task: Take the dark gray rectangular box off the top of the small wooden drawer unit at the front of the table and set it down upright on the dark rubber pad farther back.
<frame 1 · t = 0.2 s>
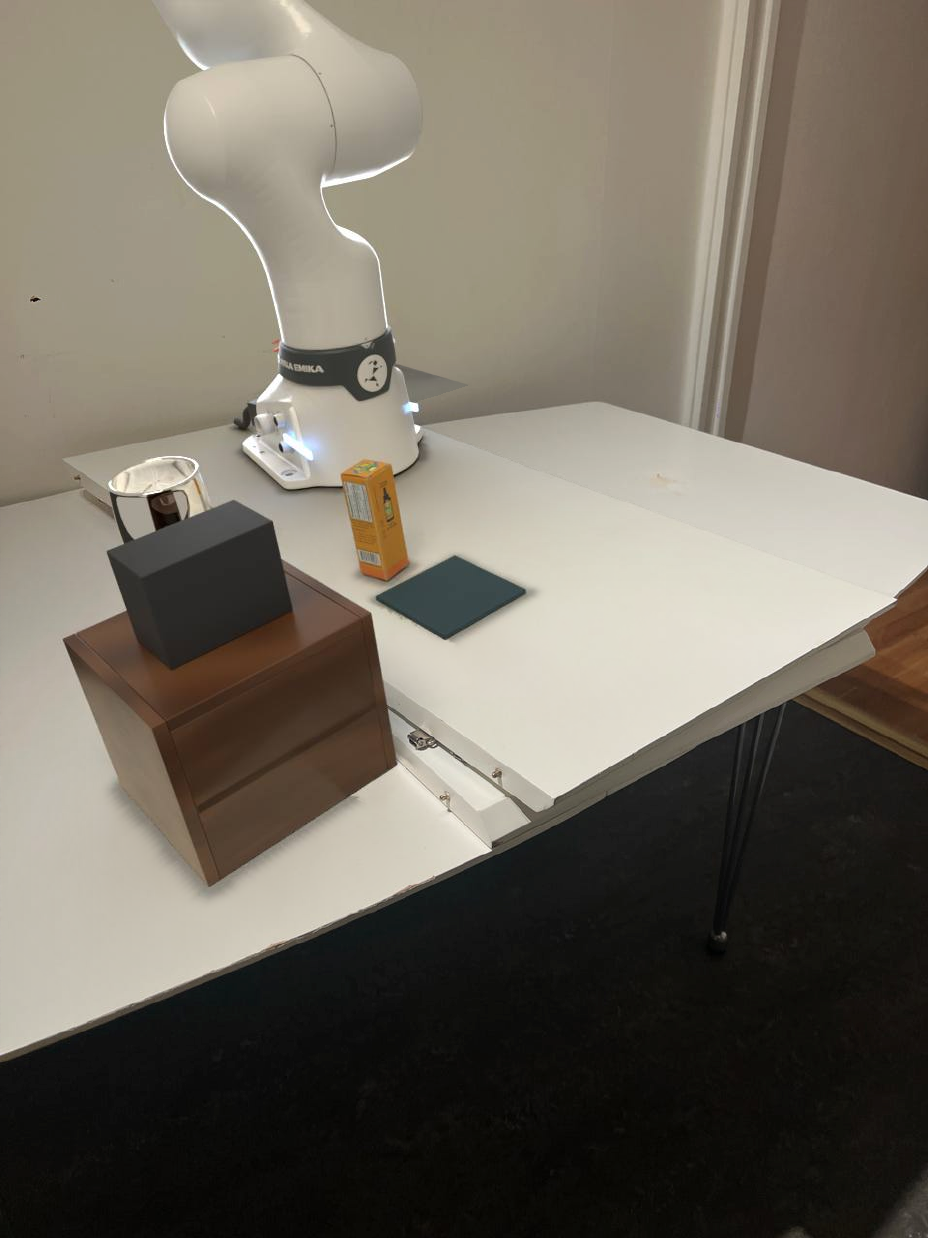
wooden drawer unit: (259, 775, 60), on the table
dark gray rectangular box: (216, 625, 53), point 12 cm above the table, touching wooden drawer unit
silver metal tumbler: (204, 646, 74), on the table
supplement box: (383, 571, 81), on the table
pad: (450, 596, 77), on the table
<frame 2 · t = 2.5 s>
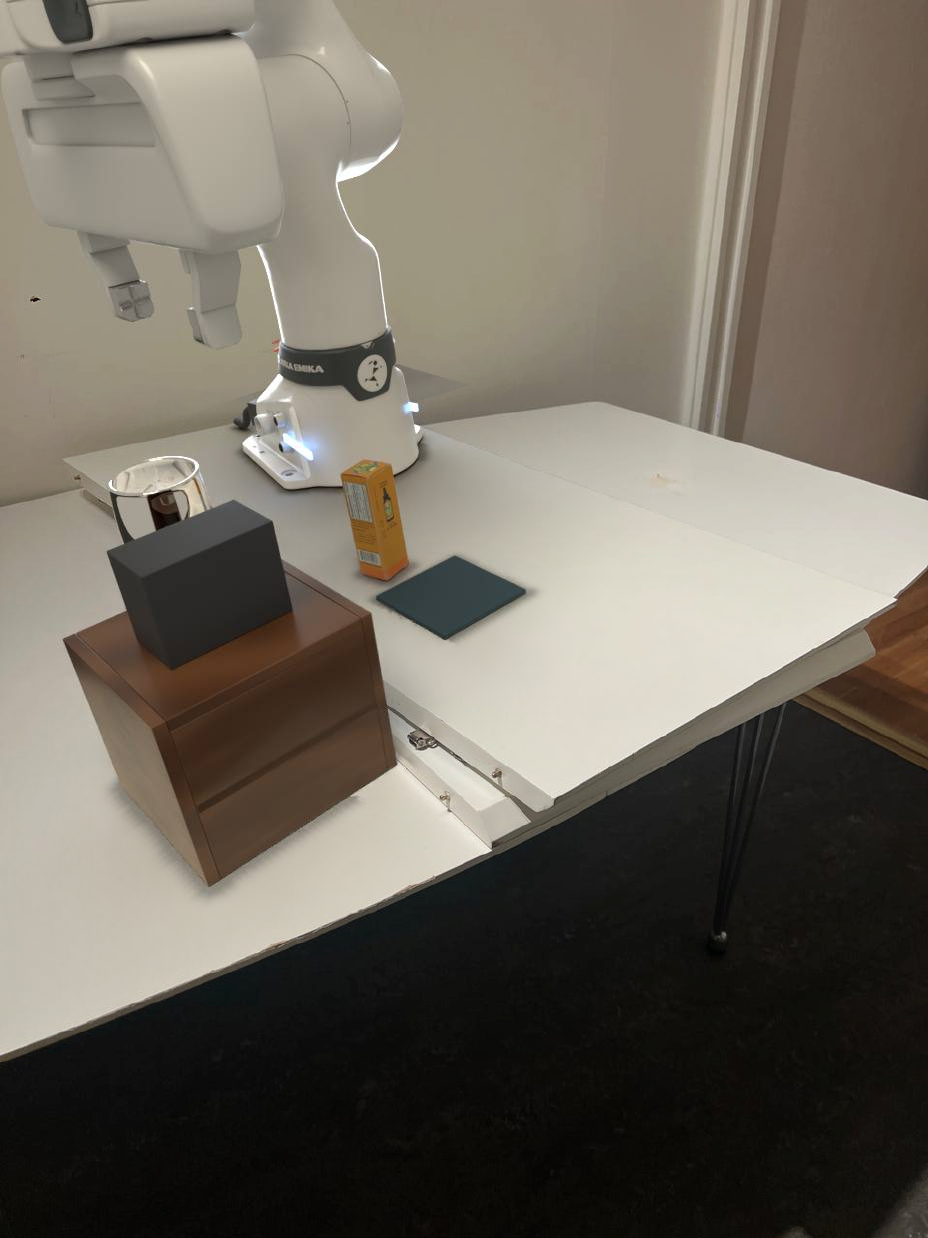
hand: (174, 330, 46), 29 cm above the table, tool pointing down, fingers open, 8 cm apart
nothing on the table moved.
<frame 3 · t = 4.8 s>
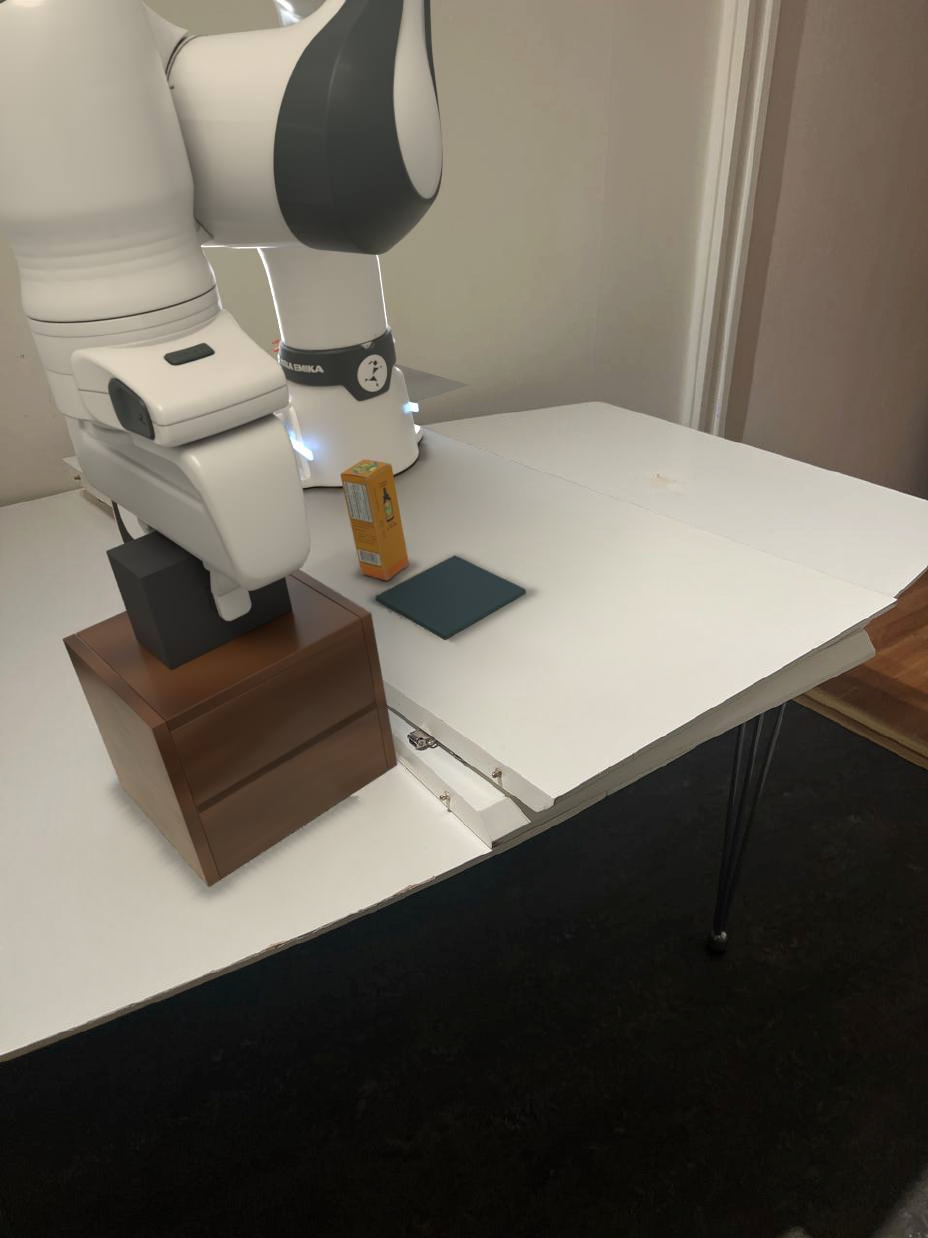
hand: (208, 594, 52), 14 cm above the table, tool pointing down, fingers closed on dark gray rectangular box, 4 cm apart
dark gray rectangular box: (215, 625, 53), point 12 cm above the table, touching gripper, wooden drawer unit
everything else where it was.
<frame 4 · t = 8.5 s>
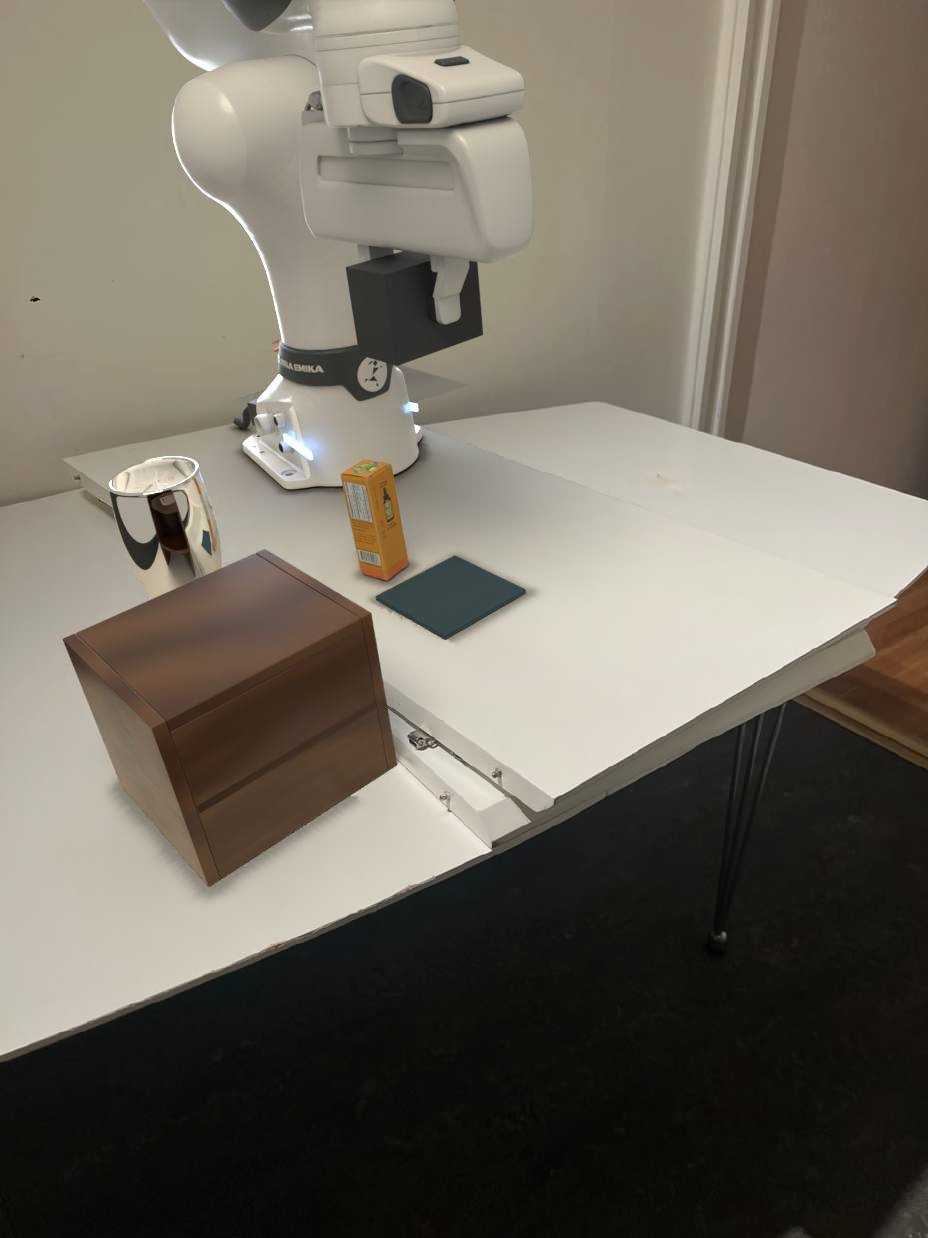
hand: (418, 315, 64), 23 cm above the table, tool pointing down, fingers closed on dark gray rectangular box, 4 cm apart
dark gray rectangular box: (421, 345, 65), point 21 cm above the table, touching gripper
everything else where it was.
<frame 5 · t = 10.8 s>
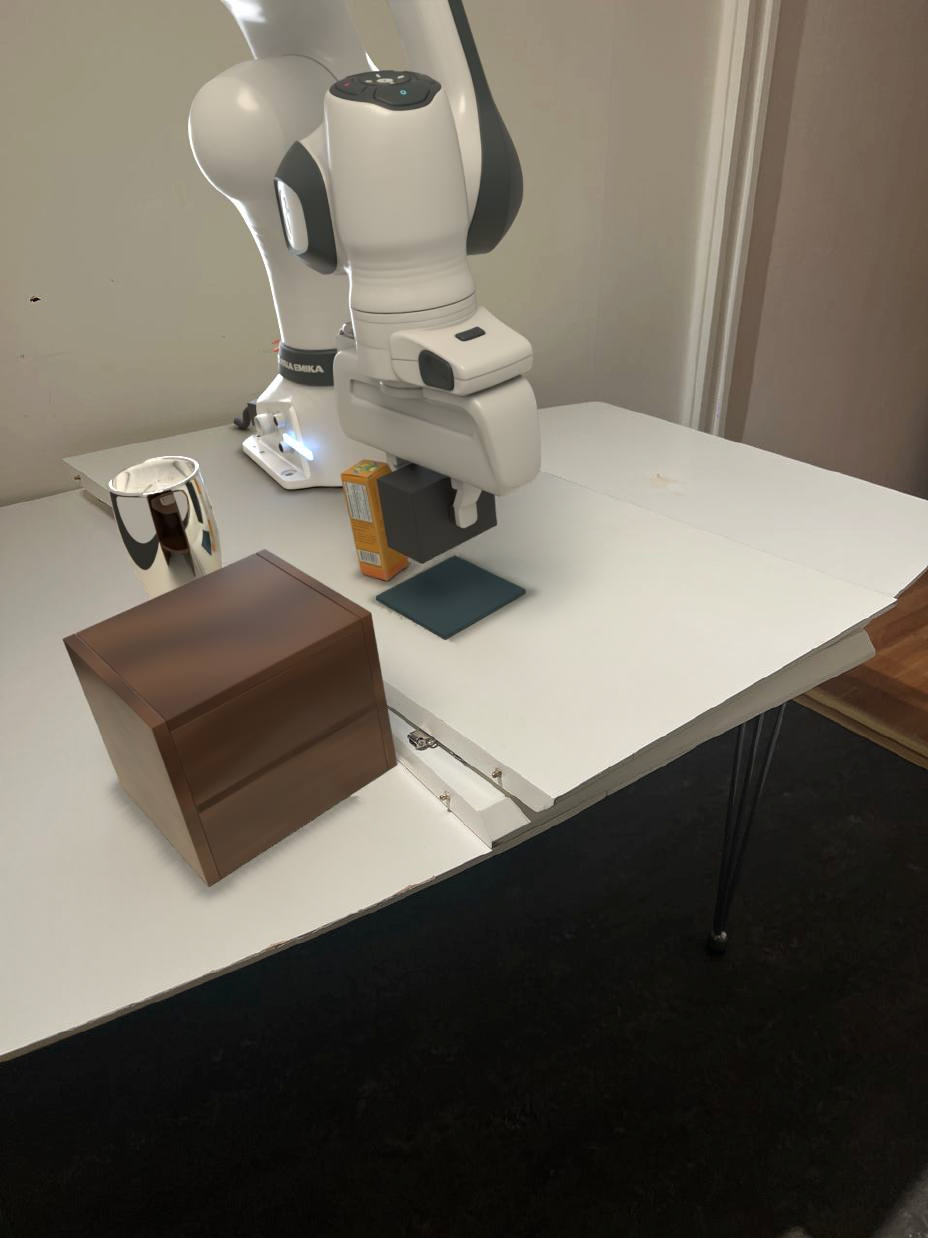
hand: (439, 512, 72), 8 cm above the table, tool pointing down, fingers closed on dark gray rectangular box, 4 cm apart
dark gray rectangular box: (443, 536, 73), point 6 cm above the table, touching gripper
everything else where it was.
when the fingers open (2 cm above the table, at t = 12.6 s): dark gray rectangular box stays where it is, resting on pad.
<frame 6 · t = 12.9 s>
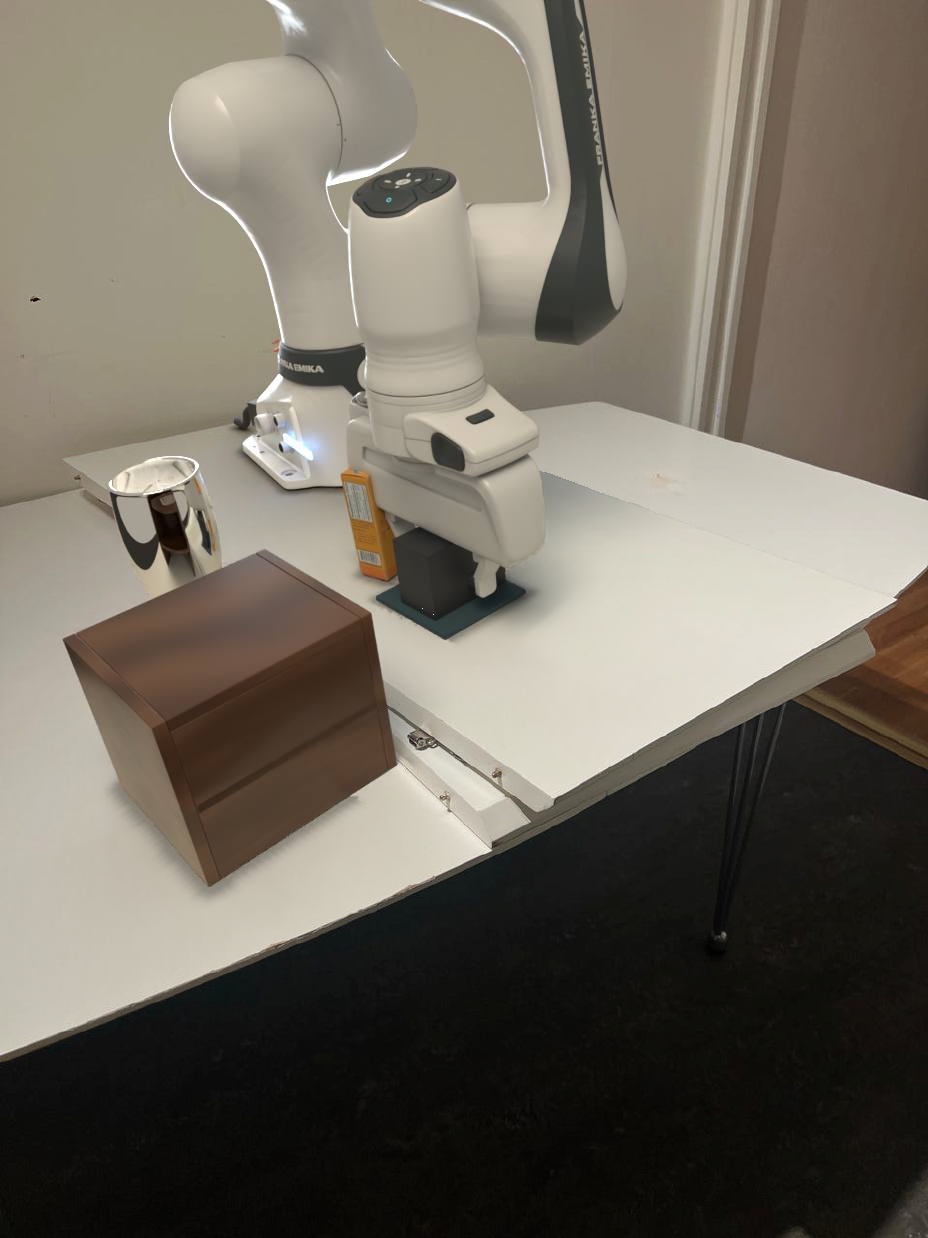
hand: (446, 573, 75), 2 cm above the table, tool pointing down, fingers open, 7 cm apart
dark gray rectangular box: (454, 591, 76), resting on pad
supplement box: (383, 571, 81), on the table, touching gripper
everything else where it was.
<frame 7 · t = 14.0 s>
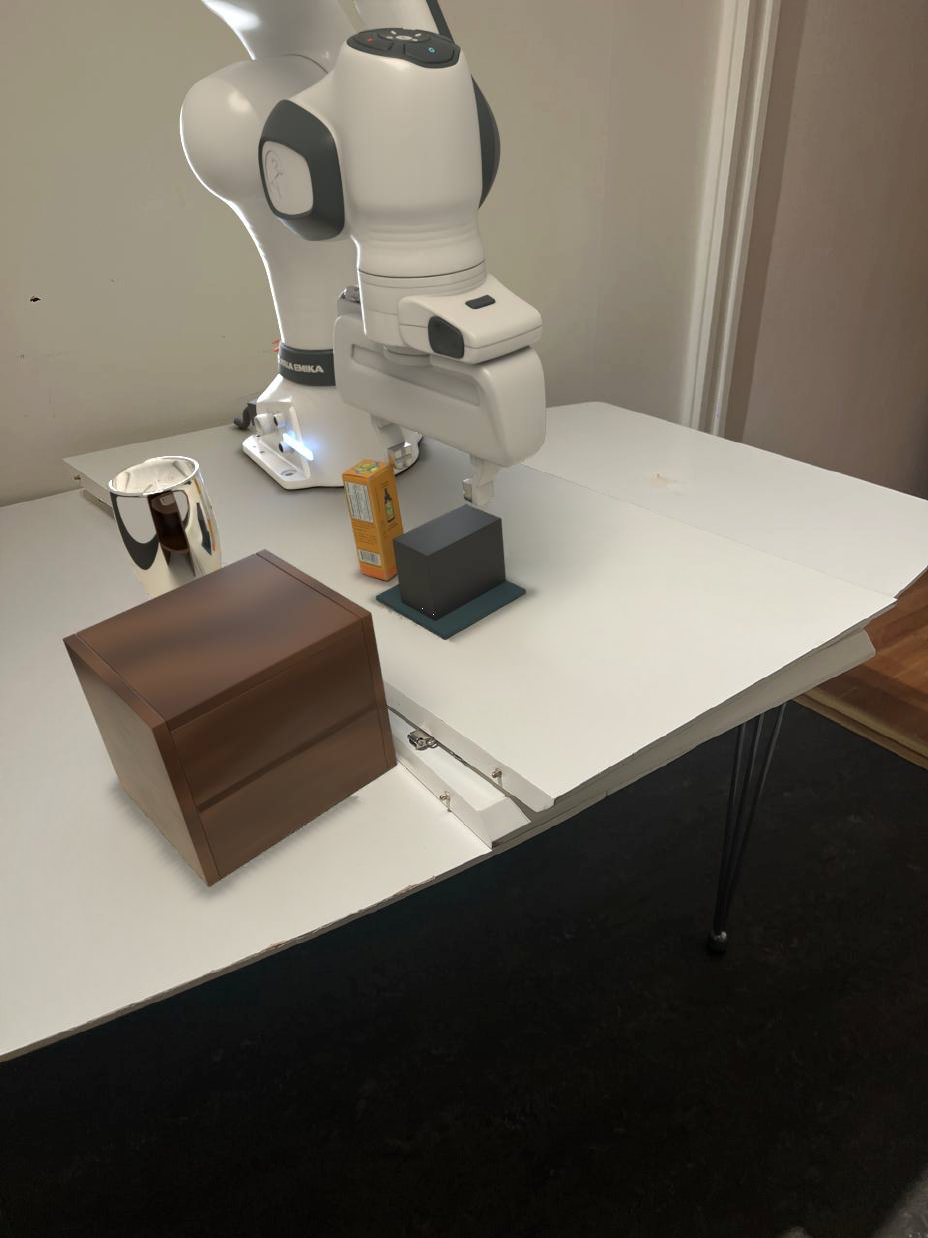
hand: (437, 482, 72), 10 cm above the table, tool pointing down, fingers open, 8 cm apart
supplement box: (383, 571, 81), on the table
everything else where it was.
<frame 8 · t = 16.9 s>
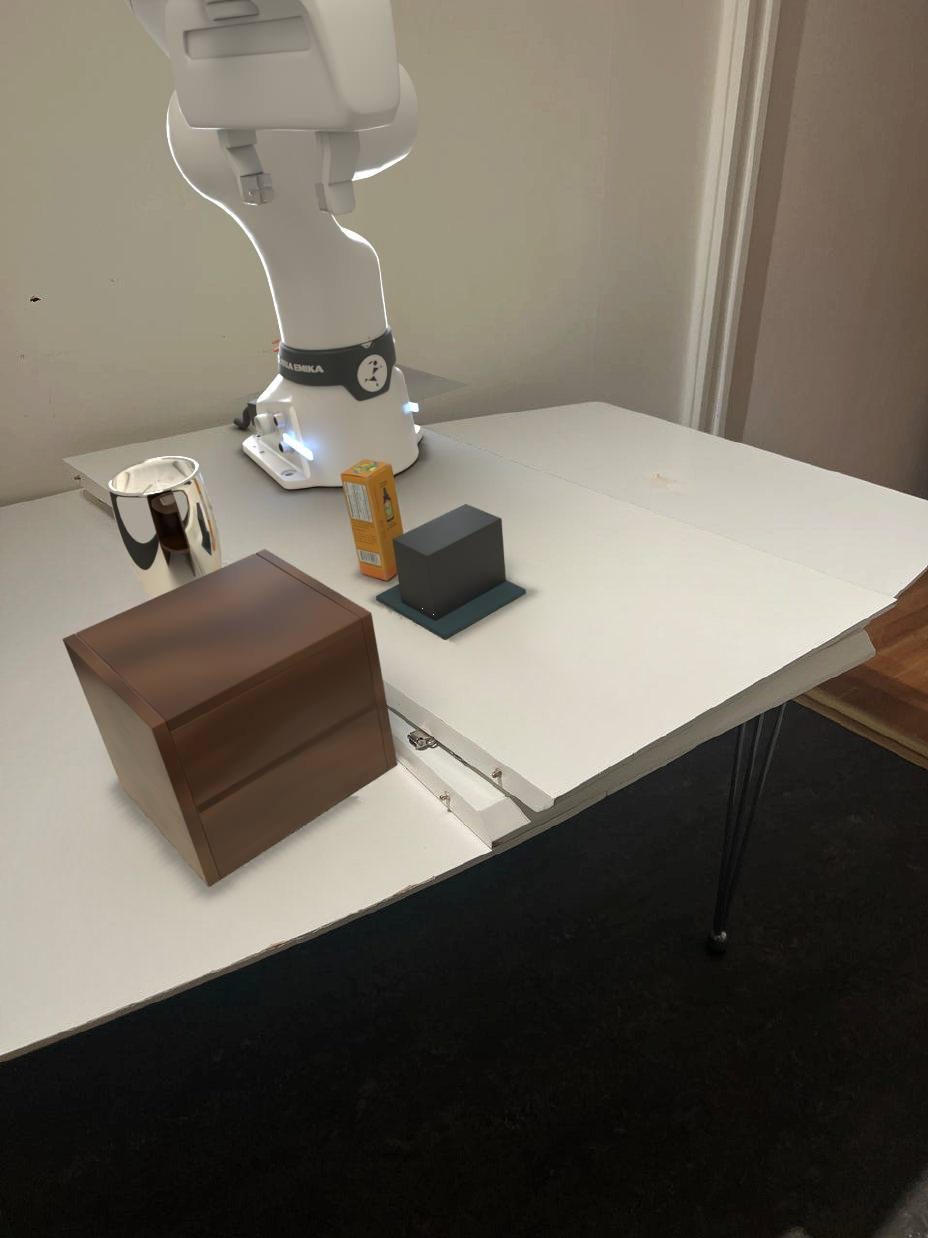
hand: (296, 207, 59), 31 cm above the table, tool pointing down, fingers open, 8 cm apart
nothing on the table moved.
at the end: dark gray rectangular box inside the target area on the pad (0.4 cm from its centre), point 0.4 cm above the pad's base; dark gray rectangular box tilted 0°; the gripper is holding nothing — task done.
